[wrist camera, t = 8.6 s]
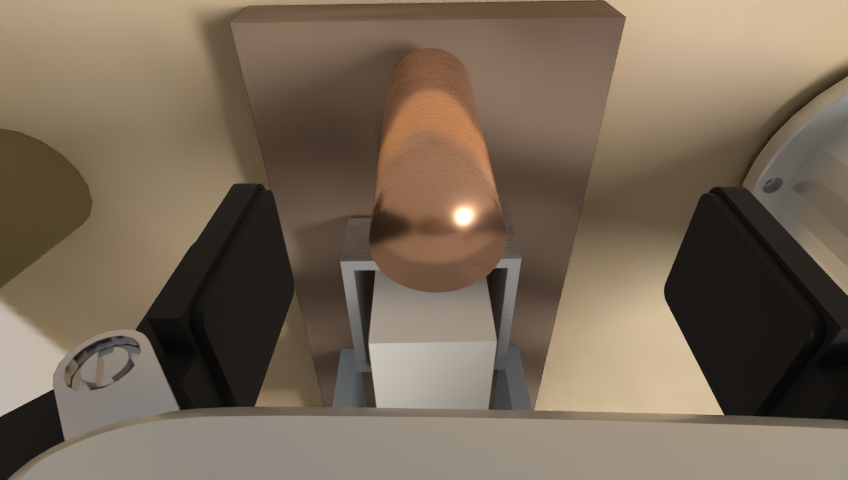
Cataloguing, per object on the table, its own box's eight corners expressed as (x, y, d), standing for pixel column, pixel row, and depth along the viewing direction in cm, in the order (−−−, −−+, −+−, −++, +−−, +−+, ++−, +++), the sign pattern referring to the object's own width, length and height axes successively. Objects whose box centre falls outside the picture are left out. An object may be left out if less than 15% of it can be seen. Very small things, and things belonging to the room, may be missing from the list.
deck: (512, 451, 41) (517, 481, 39) (347, 454, 41) (343, 484, 39) (604, 0, 19) (625, 17, 17) (249, 5, 19) (229, 23, 17)
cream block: (480, 244, 23) (496, 341, 19) (475, 314, 27) (487, 412, 22) (377, 245, 23) (368, 343, 19) (384, 316, 27) (377, 415, 22)
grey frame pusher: (496, 324, 27) (528, 510, 19) (362, 326, 27) (341, 514, 19) (532, 37, 17) (624, 182, 10) (324, 40, 17) (251, 188, 10)
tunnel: (505, 420, 33) (536, 617, 25) (354, 423, 33) (333, 621, 25) (518, 345, 28) (563, 559, 20) (341, 349, 28) (308, 564, 20)
